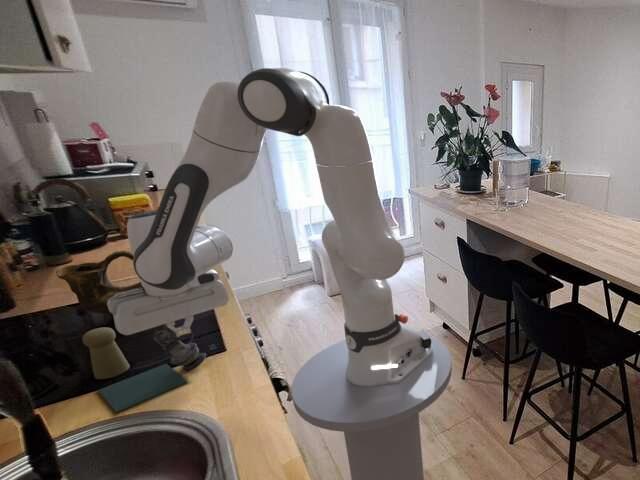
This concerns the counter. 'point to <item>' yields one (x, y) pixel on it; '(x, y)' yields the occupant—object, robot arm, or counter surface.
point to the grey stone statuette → (180, 350)
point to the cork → (105, 353)
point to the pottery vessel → (94, 283)
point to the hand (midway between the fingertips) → (182, 334)
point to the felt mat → (141, 387)
